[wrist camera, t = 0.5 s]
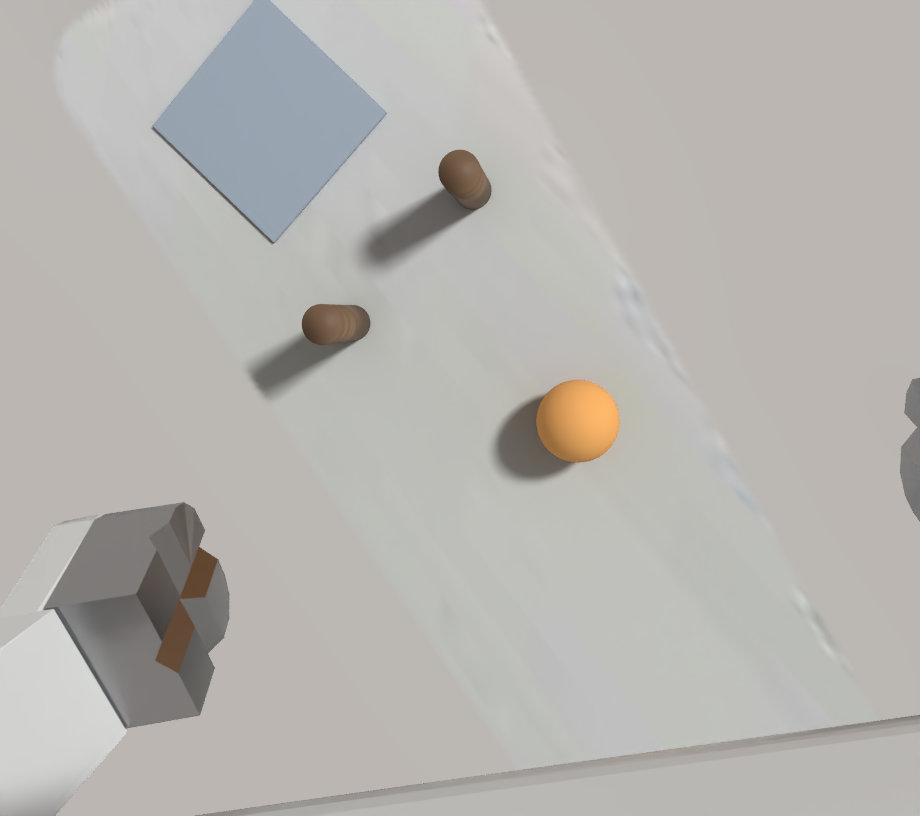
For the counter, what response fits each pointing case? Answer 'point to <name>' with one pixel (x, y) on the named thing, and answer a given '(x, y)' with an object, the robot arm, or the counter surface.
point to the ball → (577, 421)
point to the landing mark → (269, 118)
